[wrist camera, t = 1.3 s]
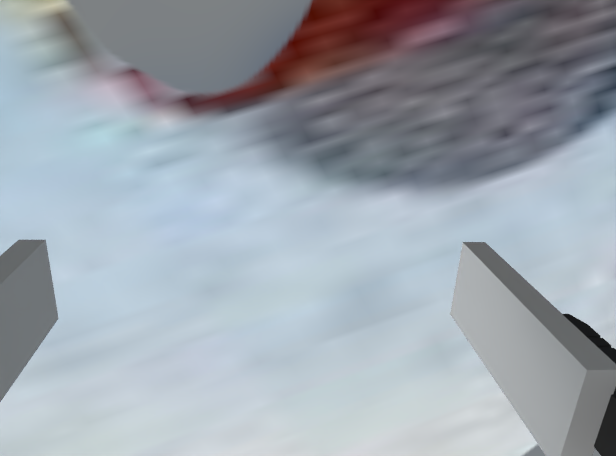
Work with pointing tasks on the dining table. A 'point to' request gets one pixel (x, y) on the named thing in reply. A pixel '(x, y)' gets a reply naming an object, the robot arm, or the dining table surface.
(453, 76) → the dining table surface
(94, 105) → the dining table surface
